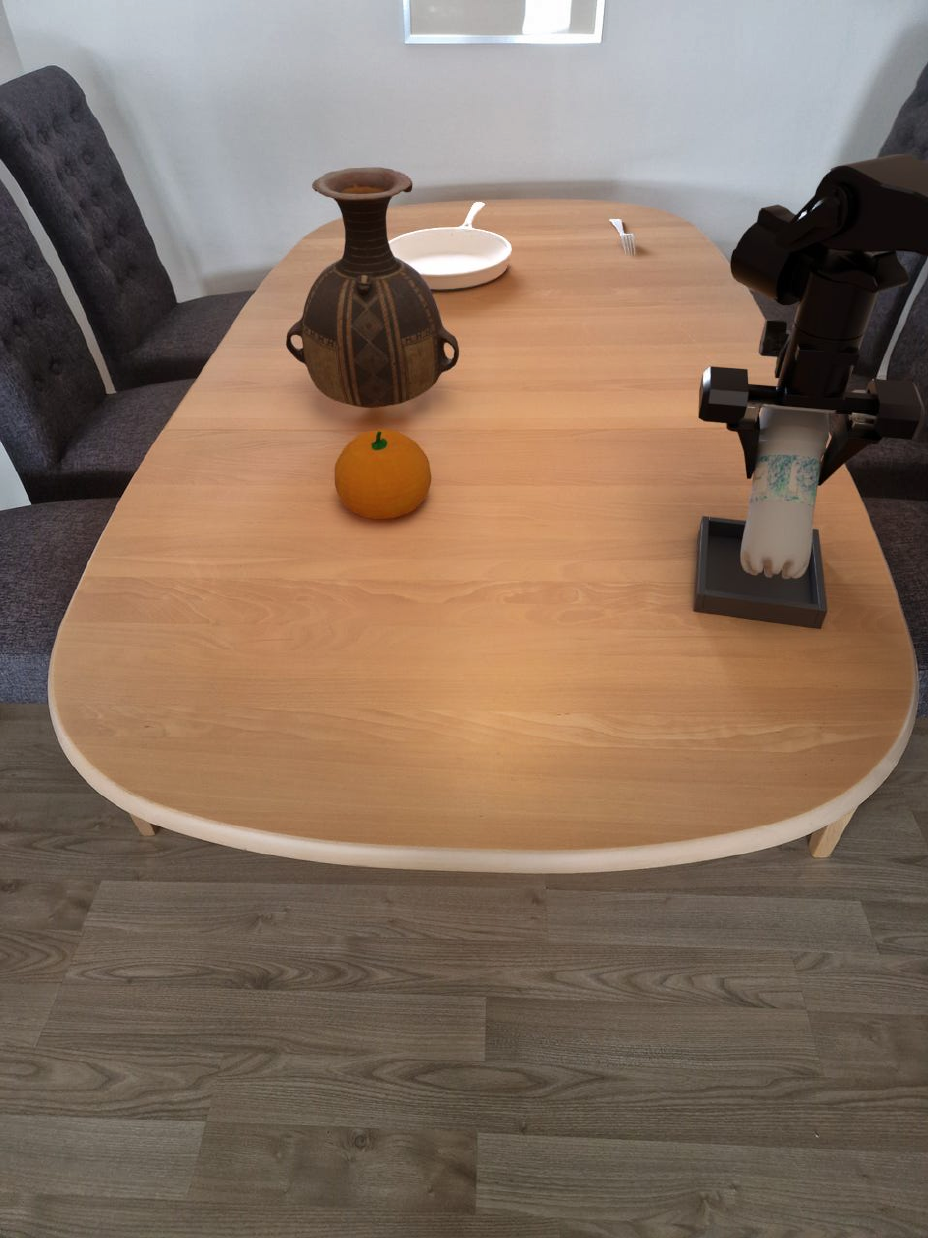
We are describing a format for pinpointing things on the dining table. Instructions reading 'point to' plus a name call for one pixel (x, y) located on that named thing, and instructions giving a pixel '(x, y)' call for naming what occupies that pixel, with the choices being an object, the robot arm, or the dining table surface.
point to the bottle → (784, 492)
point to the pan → (454, 254)
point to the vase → (370, 305)
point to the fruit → (382, 474)
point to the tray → (754, 581)
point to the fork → (618, 225)
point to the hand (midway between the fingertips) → (783, 479)
